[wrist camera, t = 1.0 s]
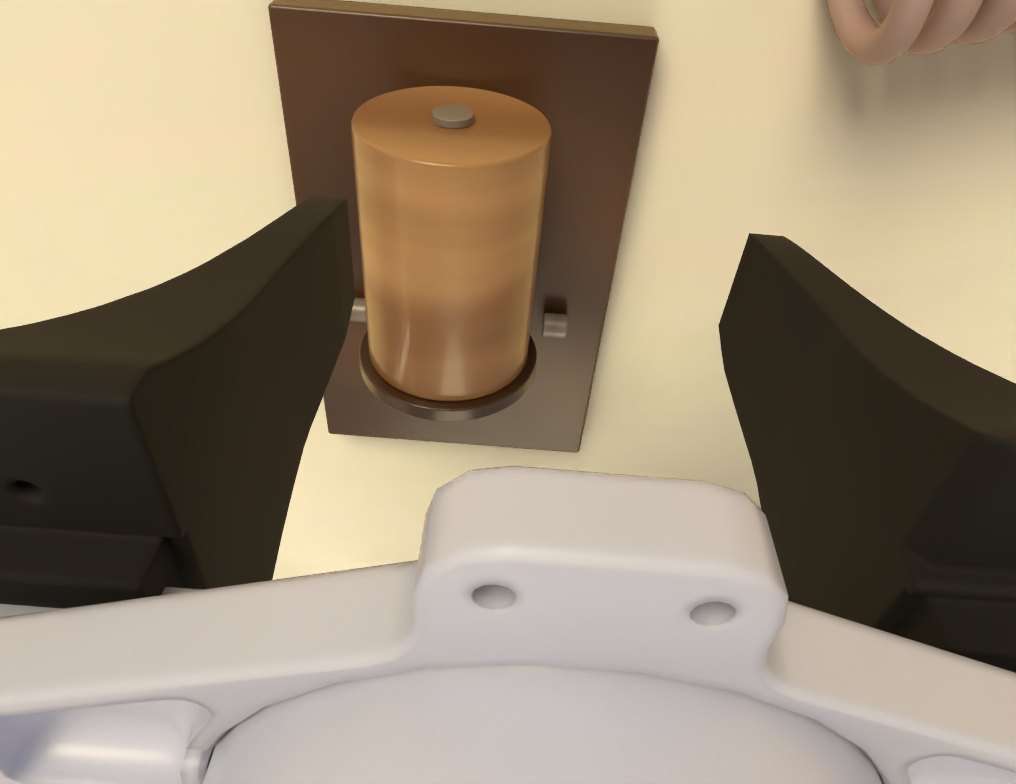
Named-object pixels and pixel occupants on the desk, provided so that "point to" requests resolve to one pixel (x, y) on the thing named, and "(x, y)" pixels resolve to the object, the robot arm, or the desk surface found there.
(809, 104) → the desk surface
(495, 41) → the base board
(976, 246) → the desk surface
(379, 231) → the battery
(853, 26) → the pink hollow tube
